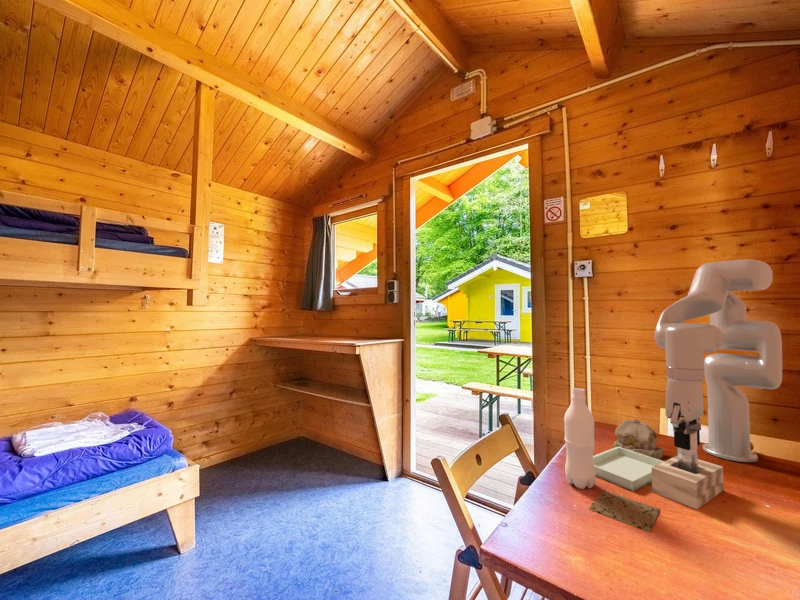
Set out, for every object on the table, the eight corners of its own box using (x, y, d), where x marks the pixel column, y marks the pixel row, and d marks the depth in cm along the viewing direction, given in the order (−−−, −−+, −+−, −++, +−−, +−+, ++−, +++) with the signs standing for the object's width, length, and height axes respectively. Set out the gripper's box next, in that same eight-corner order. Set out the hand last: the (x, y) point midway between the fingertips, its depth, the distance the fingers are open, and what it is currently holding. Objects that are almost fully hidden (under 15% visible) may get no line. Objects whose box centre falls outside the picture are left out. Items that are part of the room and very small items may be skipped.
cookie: (661, 510, 80) (661, 506, 80) (650, 535, 71) (650, 530, 71) (603, 491, 88) (603, 487, 88) (587, 511, 80) (587, 507, 80)
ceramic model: (606, 446, 116) (605, 416, 116) (623, 440, 122) (623, 411, 122) (653, 462, 104) (653, 429, 104) (671, 454, 110) (670, 422, 110)
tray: (617, 454, 109) (617, 446, 110) (670, 472, 97) (669, 463, 97) (580, 469, 99) (580, 460, 99) (633, 491, 87) (632, 481, 87)
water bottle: (600, 492, 87) (597, 392, 87) (569, 489, 88) (567, 391, 89) (590, 479, 94) (588, 386, 94) (562, 476, 95) (560, 385, 96)
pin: (679, 467, 91) (678, 418, 92) (706, 476, 87) (704, 424, 87) (669, 472, 89) (668, 421, 89) (697, 482, 84) (695, 428, 84)
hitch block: (680, 475, 95) (680, 453, 95) (723, 490, 87) (722, 466, 88) (652, 491, 87) (651, 467, 87) (696, 509, 79) (695, 482, 80)
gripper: (681, 368, 96) (684, 434, 95) (651, 375, 87) (654, 448, 87) (716, 372, 89) (719, 443, 89) (688, 380, 81) (690, 459, 80)
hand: (687, 445), depth 88 cm, fingers closed on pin, 4 cm apart
